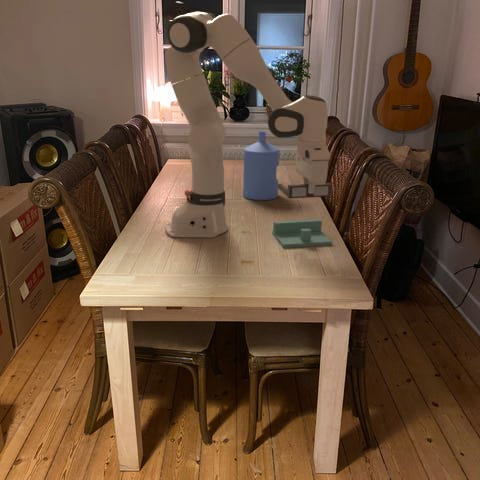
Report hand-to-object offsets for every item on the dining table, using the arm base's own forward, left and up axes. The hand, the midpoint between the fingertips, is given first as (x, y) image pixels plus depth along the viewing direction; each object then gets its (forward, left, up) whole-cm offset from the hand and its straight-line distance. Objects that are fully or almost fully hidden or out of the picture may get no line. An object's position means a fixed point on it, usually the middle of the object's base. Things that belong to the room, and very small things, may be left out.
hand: (308, 191), depth 165 cm
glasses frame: (0, +5, -2) cm, 6 cm away
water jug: (-1, +59, -18) cm, 62 cm away
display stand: (0, +4, -18) cm, 19 cm away
